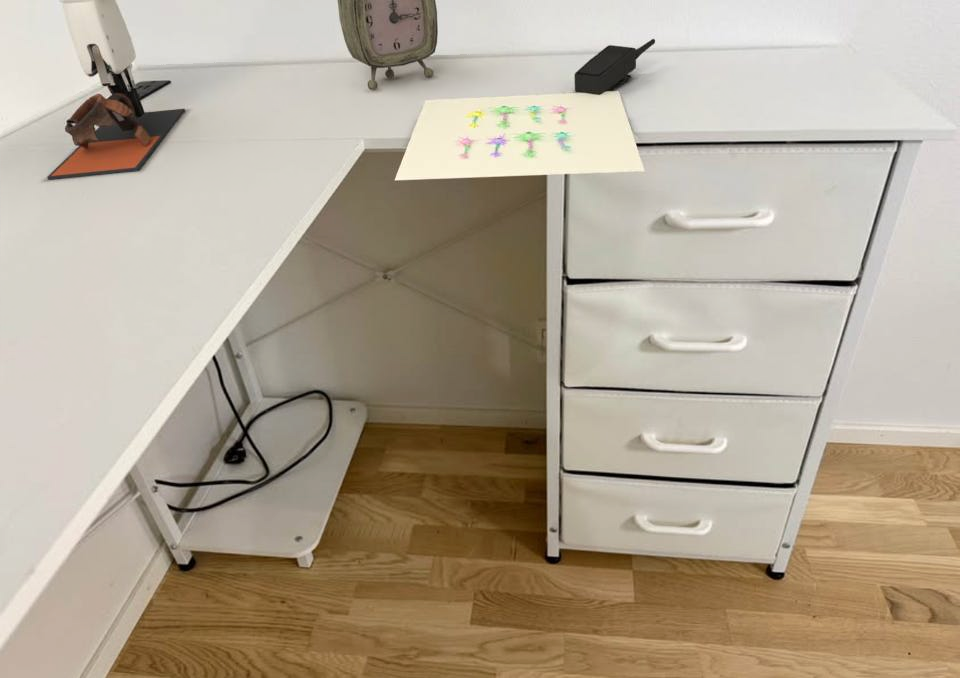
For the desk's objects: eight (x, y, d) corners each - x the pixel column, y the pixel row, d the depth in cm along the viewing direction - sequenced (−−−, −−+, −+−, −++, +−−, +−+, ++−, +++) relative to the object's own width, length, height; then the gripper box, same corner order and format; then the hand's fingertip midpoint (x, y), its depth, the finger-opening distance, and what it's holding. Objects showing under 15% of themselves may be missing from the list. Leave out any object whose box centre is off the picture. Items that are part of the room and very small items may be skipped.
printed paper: (425, 102, 106) (424, 92, 106) (618, 93, 104) (619, 83, 103) (394, 182, 83) (393, 171, 82) (644, 173, 80) (645, 161, 79)
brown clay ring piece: (148, 156, 96) (96, 112, 90) (102, 186, 99) (50, 146, 93) (164, 108, 104) (118, 65, 98) (122, 138, 107) (74, 98, 101)
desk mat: (48, 179, 91) (46, 176, 91) (111, 118, 112) (110, 115, 112) (138, 170, 92) (137, 167, 91) (185, 110, 113) (184, 108, 112)
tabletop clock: (366, 95, 113) (338, -80, 98) (347, 83, 120) (318, -82, 105) (443, 78, 119) (427, -91, 104) (420, 67, 125) (402, -92, 110)
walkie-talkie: (561, 81, 105) (623, 38, 116) (587, 112, 106) (645, 67, 117) (586, 55, 100) (647, 13, 111) (612, 88, 101) (670, 43, 112)
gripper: (76, -20, 101) (123, 104, 112) (35, -2, 89) (92, 135, 100) (128, -25, 101) (169, 99, 112) (93, -8, 89) (144, 129, 100)
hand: (133, 116), depth 106 cm, fingers closed
